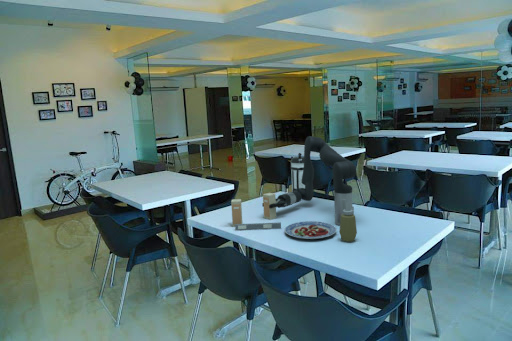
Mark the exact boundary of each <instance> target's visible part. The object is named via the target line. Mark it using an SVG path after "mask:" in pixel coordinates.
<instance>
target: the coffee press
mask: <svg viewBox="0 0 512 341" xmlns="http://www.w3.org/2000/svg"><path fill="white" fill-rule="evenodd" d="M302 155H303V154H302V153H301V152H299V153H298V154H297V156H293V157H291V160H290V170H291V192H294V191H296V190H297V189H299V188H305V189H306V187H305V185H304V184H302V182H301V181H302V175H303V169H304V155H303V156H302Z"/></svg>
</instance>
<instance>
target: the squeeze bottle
mask: <svg viewBox="0 0 512 341" xmlns="http://www.w3.org/2000/svg"><path fill="white" fill-rule="evenodd" d="M357 230H358V229H357V220H356V215H355V214H354V215H353V210H351V209H350V204H349V203H346V208H345V210H343V214H342V215H341V220H340V225H339V234H340V237H341V238H340V239H341V241H342V242H347V243H348V242H350V243H351V242H354V241H355V239H356V237H357V234H358V231H357Z"/></svg>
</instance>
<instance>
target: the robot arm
mask: <svg viewBox="0 0 512 341" xmlns="http://www.w3.org/2000/svg"><path fill="white" fill-rule="evenodd" d="M303 150H304V151H303V156H304V169H303V175H302V181H301V182H302V184H304V185H305V187H306V189H305V188H299V189H297V190H296V191H294V192H292V191H291V192H287V193H282V194H279V195H278V196H277V197H276V203H273V204H270V205H269V208H270V209H271V208H274V207H276V208H278V209H280V208H286V207H290V206H293V205H294V204H297V203H300V202H301V201H302V200H303V201H306V202H310V201H312V199H313V198H314V184H313V183H314V176H315V169H314V165H313V162H312V159H311V152H312V153H317V154H319V155H318V156H319V158H320V160H321V162H323V163H324V164H325V165H326V166H328V167H331V168H332V177H333V178H332V180H333V181H332V182H333V191H334V193H333V194H334V196H333V198H334V205H333V206H334V208H333V209H334V224H335V225H338V226H340V220H341V215H342V214H343V210H345V208H346V203H349V204H350V209H351V210H353V215H355V214H354V213H355V210H354V209H355V208H354V206H353V187H352V186H351V185H350V184H345V183H343V182H344V181H343V180H350V179H353V178H354V177H355V176H356V174H357V169H356V165H355V164H354V163H353V161H351V160H350V159H348V158H345V157H344V156H342V155H341V154H340V153H339V152H337V151H336V150H335V149H333V148H332V147H331V146H329V145H328V144H327V142H326V141H325V140H324V139H323V138H322V137H318V136H312V135H311V136H310V135H309V136H306V138H305V141H304V148H303ZM261 206H262V207H263V208H264V205H263V202H262V205H261Z"/></svg>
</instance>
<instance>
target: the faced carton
mask: <svg viewBox="0 0 512 341" xmlns="http://www.w3.org/2000/svg"><path fill="white" fill-rule="evenodd" d="M230 204H231V206H230V207H231V220H232V227H233V228H235V224H243V210H242V209H243V207H242V198H236V199H234V198H233V199H231V202H230Z"/></svg>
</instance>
